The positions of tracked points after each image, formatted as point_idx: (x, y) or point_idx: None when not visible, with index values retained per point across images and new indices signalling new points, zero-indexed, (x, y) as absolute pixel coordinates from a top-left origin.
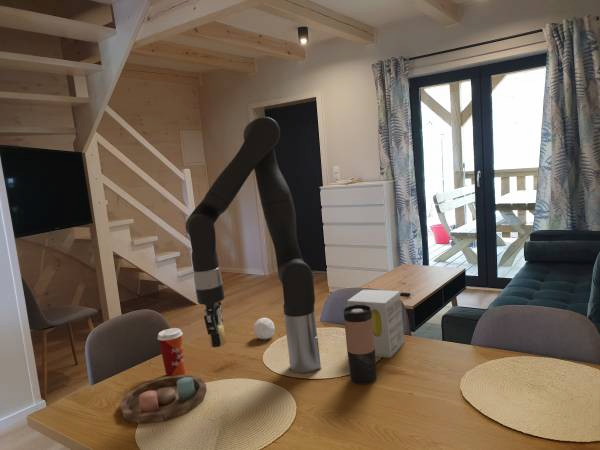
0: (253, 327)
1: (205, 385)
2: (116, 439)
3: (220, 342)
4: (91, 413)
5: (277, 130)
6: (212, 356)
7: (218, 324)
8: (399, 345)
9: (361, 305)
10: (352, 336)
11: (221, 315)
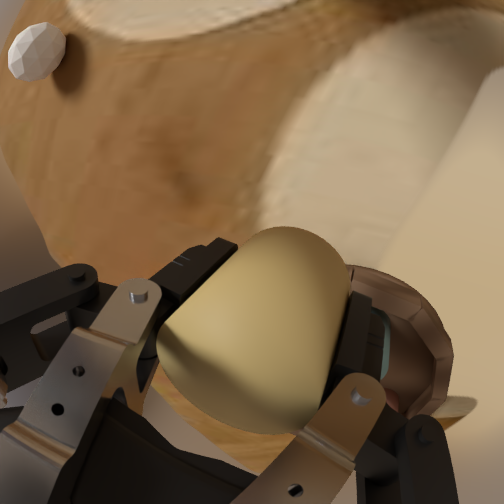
0: (27, 80)
1: (360, 281)
2: None
3: (346, 296)
4: (286, 445)
5: None
6: (101, 196)
7: (348, 458)
8: None
9: None
10: None
11: (76, 363)
